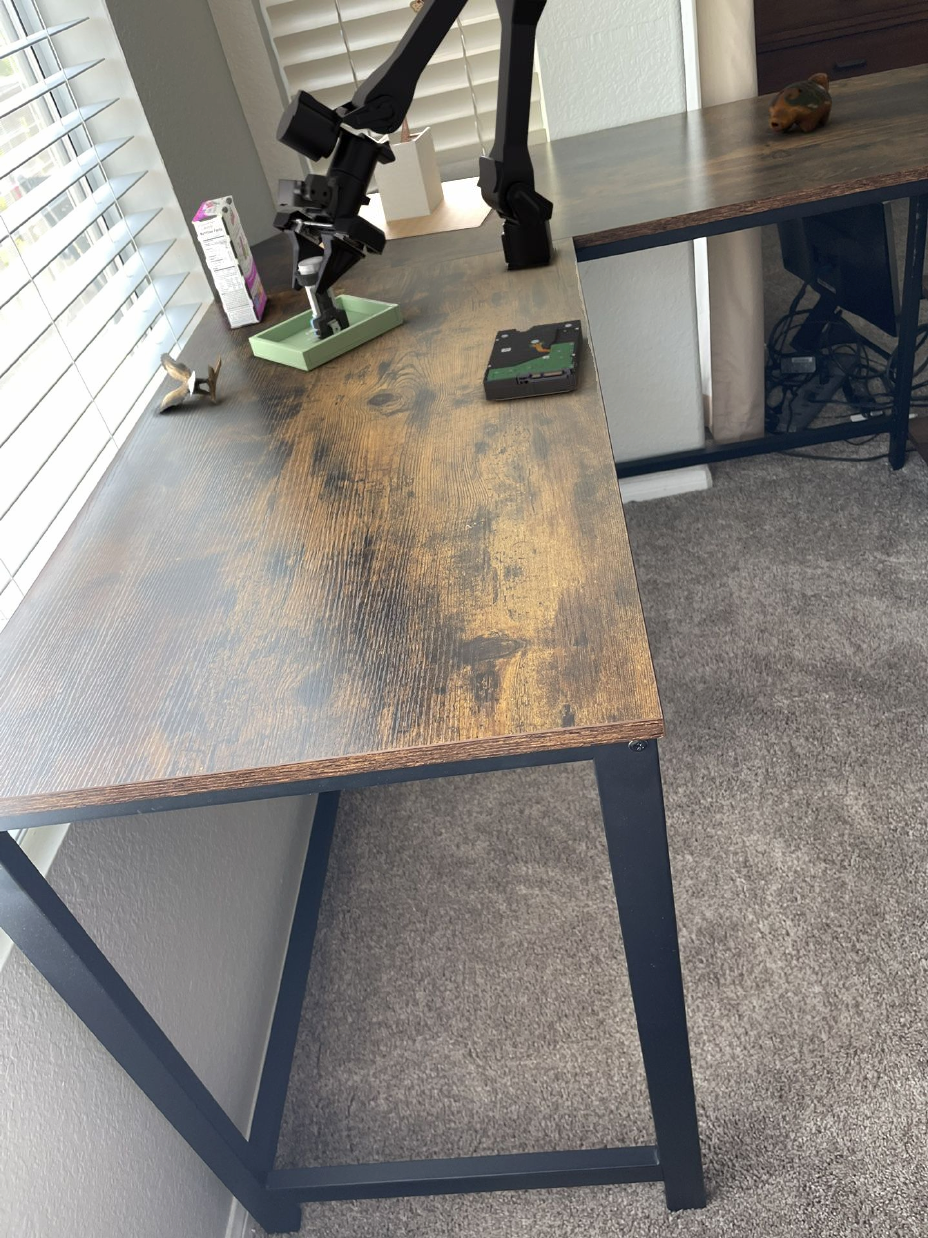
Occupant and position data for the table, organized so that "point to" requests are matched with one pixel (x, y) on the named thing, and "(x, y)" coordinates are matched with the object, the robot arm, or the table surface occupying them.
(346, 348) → the tray
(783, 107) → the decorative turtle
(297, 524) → the table surface
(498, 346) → the disk drive
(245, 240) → the candy bar box
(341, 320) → the push button
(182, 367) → the eagle figurine
